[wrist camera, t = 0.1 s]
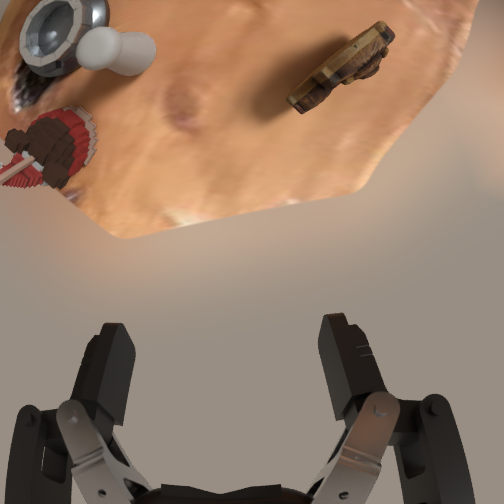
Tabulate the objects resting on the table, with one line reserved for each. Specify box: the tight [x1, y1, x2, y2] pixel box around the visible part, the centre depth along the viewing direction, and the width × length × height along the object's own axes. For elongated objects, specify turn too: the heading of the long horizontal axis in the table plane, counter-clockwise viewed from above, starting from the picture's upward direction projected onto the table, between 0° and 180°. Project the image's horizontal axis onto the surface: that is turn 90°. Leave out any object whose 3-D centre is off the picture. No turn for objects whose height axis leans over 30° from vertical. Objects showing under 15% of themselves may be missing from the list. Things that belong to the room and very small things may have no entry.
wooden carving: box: [286, 21, 395, 114], centre depth 25 cm, size 16×5×10 cm, turn 141°
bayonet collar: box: [20, 0, 110, 77], centre depth 20 cm, size 14×14×4 cm
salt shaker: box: [76, 27, 156, 76], centre depth 21 cm, size 6×6×13 cm
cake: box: [0, 105, 99, 189], centre depth 24 cm, size 11×9×18 cm
